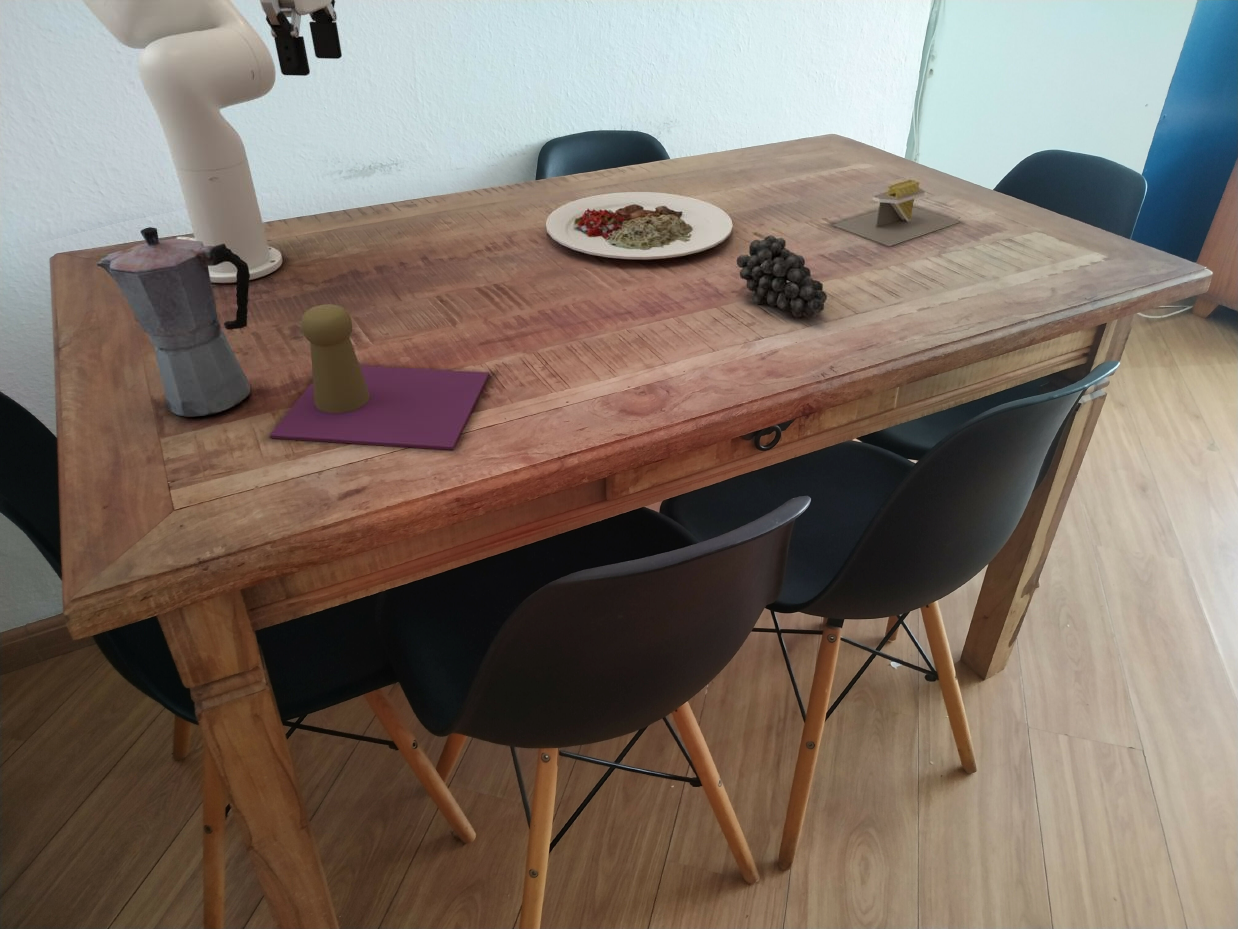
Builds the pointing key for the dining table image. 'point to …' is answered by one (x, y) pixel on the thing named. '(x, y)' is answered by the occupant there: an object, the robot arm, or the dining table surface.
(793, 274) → the fruit
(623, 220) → the plated food
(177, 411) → the moka pot
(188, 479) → the dining table surface
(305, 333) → the pepper mill
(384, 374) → the placemat
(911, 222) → the platform
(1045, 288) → the dining table surface
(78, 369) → the dining table surface
